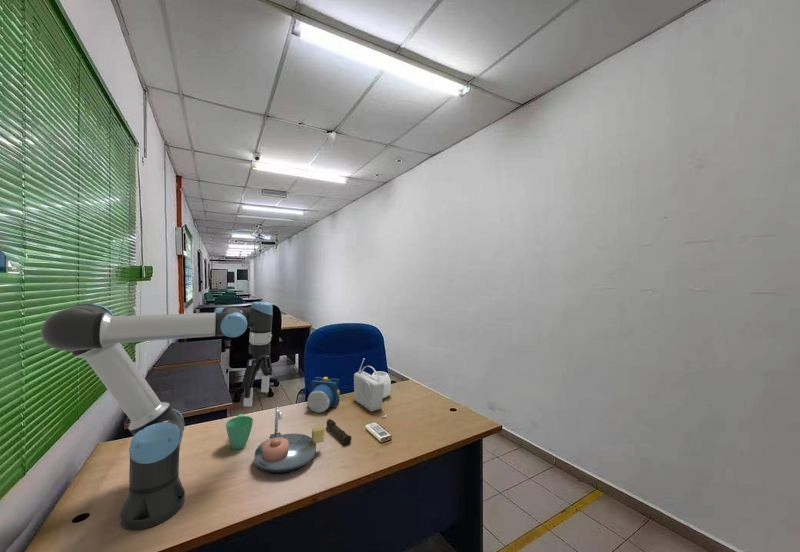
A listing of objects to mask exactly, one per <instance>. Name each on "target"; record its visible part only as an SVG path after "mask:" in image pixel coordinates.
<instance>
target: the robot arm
mask: <svg viewBox="0 0 800 552" xmlns="http://www.w3.org/2000/svg"><path fill="white" fill-rule="evenodd" d="M273 314H274V313H273V303H272V302H268V301H254V302H251V305H250V306H248V307H231V306H230V307H227V306H224V307H216V308H214V312H198V313H197V312H196V313H195V312H194V313H172V314H171V313H170V314H168V313H167V314H143V315H141V314H140V315H139V314H138V315H114V314H113V312H112V311H111V310H110V309H109V308H107V307H105V306H103V305H101V304H95V303H81V304H77V305H74V306H71V307H69V308H65V309H62V310H59V311H57V312H54V313H53V314H51V315H49V317H47V318H46V319H45V321H44V322H43V324H42V327H41V328H40V329H41V330H40V335H41V338H42V340H43V341H44V342H45V344H46V345H48V346H49V347H51V348H52V349H55V350H57V351H63V352H71V354H72V355H73V356H74V358H78V359H79V358H80V359H84V360H85V361H86V362H87V364H88V365H89V366H90V368H91V369H92V370H93V372H94V373H95V374H96V376H97V377H98V378H99V380H100V381H101V382H102V384H103V385H104V386H105V388H106V389H107V390H108V392H109V394H110V395H111V396H112V397H113V399H114V400H115V401H116V402H117V404H118V405H119V407H120V408H121V410H122V411H123V412H124V414H125V415H126V416H127V418H128V419H129V420H130V423H129V425H128V428H127V429H128V430H129V431H130V433H131V434H132V435H133V436H132V438H131V440H130V444H129V450H128V452H129V453H128V454H129V471H128V472H129V475H128V476H129V478H128V492H127V495H126V498H125V499H124V502H123V505H122V507H121V510H120V514H119V525H120V526H121V527H122V528H123V529H126V530H129V531H131V530H132V531H139V530H144V529H147V528H148V529H149V528H152V527H155V526H157V525H159V524H161V523H163V522H166V521H167V520H169V519H170V518H171V517H173V516H174V515H175V514H177V513H178V512H179V511H180V510H181V509H182V507H183V506H184V505H185V501H186V492H185V489H184V486H183V484H182V482H181V479H180V476H179V475H180V474H179V471H180V468H179V467H180V450H181V444H182V438H183V436H184V430H185V420H184V417H183V415H182V413H181V412H180V411H178V410H177V409H174V408H173V407H172V406H171V404H170V403H169V402H162V401H161V400H160V399H159V397H158V396H157V394H156V393H155V391H154V390H153V389H152V386H150V384H149V382H148V381H147V380H146V378H145V377H144V375H143V374H142V373H141V371H140V370H139V368H138V367H137V366H136V364H135V362H134V361H133V359H132V358H131V356H130V355H129V354H128V352H127V351H126V350H125V348H124V347H123V346H122V344H123V343H138V342H139V343H140V342H151V341H167V340H177V339H178V340H180V339H181V340H182V339H192V338H206V337H207V338H208V337H223V336H225V337H228V338H237V337H240V336H241V335H243V334H244V333H245V332H246V330H247V328H249V337H248V338H249V340H248V343H249V345H248V354H249V355H251V356H252V357H251V359H247V361H246V368H245V371H244V375H243V378H242V382H241V385H240V388H241V389H244V391H243V392H244V393H243V405H242V406H243V407H250V408H251V407H252V406H253V393H254V388H253V385H254V382H255V379H256V377H257V374H258V372H260V370H261V372H262V375H261V387H260V389H261V390H260V392H261V393H269V390H270V389H269V388H270V376H272V375H273V365H272V361H271V360H272V359H271V348H272V347H271V345H272V344H271V341H272V337H273V334H272V326H273V325H272V324H273Z"/></svg>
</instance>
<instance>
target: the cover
mask: <svg viewBox="0 0 800 552" xmlns="http://www.w3.org/2000/svg"><path fill="white" fill-rule="evenodd" d="M269 439H270V438H269ZM266 440H267V439H266ZM266 440H265V441H266ZM263 442H264V441H263ZM288 444H289V442H288V440H287V439H285V438H278V437H276V438H273V439H270V440H267V441H266V442H264V444H263V445H262V459H263V460H264V461H266V462H277V461H280V460H282V459H284V458H285V457H286V456H287V455H288Z"/></svg>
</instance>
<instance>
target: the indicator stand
mask: <svg viewBox="0 0 800 552" xmlns="http://www.w3.org/2000/svg"><path fill="white" fill-rule="evenodd" d="M274 414H275V415H274V416H275V417H274V418H275V419H274V433H270V434H269V435H270V437H269V439H270V438H273V437H275V436H279V435H282V434H281V432H280V431H279V421H280V420H282V418H283V414H282V411H280V410H279V406H276V407H275V412H274Z"/></svg>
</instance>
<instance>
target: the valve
mask: <svg viewBox="0 0 800 552" xmlns="http://www.w3.org/2000/svg"><path fill="white" fill-rule="evenodd" d="M339 386H340V379H339V378H329V377H328V376H324V377H321V376H315V377H314V380H311V381H310V390H311V391H310V394H309V395H308V397H307V405H308V407H309V409H310V410H311V411H312V412H314V413H317V414H318V413H324V412H325V411H326V410H328V408H337V404H339V403H340V393H341V391H340V389H339Z"/></svg>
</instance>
